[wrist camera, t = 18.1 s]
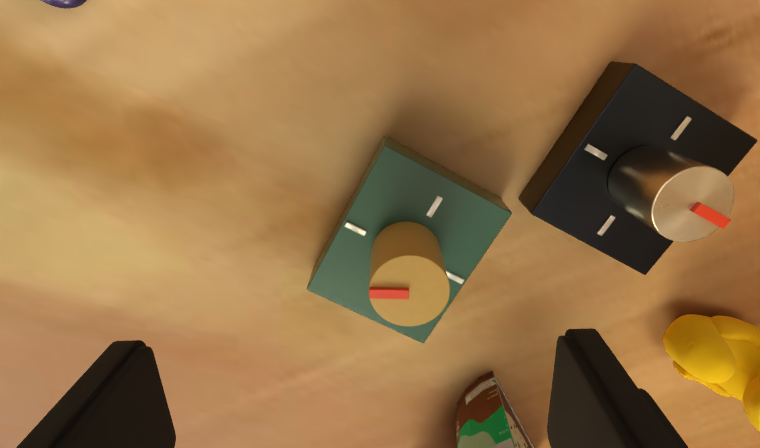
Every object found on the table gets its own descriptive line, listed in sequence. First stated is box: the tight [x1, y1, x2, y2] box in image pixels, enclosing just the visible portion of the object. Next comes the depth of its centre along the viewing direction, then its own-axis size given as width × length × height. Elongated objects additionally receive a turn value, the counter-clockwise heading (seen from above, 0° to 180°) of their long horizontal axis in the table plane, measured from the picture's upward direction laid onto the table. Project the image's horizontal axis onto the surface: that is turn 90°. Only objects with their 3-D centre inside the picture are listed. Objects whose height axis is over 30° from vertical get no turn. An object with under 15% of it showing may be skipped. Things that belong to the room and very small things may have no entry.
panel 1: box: [307, 136, 512, 343], centre depth 31 cm, size 11×9×3 cm
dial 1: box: [369, 222, 450, 326], centre depth 27 cm, size 4×4×5 cm
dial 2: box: [608, 146, 734, 242], centre depth 25 cm, size 4×4×5 cm
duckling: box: [663, 314, 760, 432], centre depth 31 cm, size 11×5×10 cm, turn 64°
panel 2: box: [519, 62, 757, 275], centre depth 29 cm, size 10×9×3 cm
